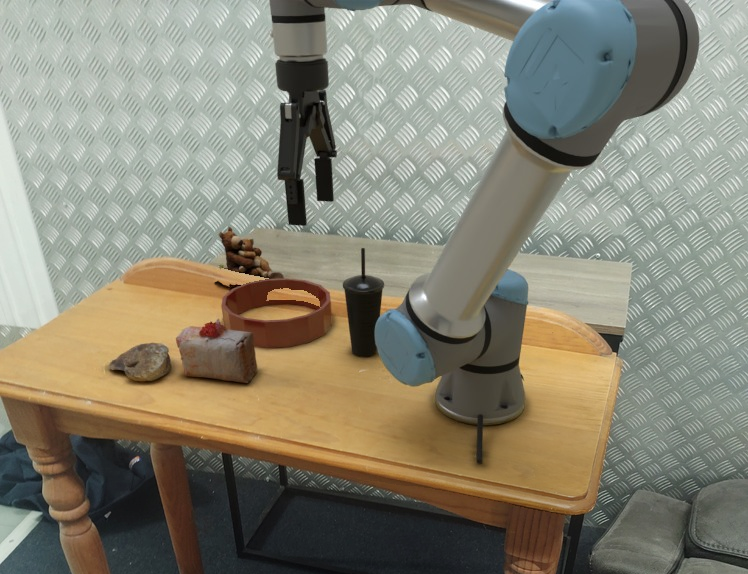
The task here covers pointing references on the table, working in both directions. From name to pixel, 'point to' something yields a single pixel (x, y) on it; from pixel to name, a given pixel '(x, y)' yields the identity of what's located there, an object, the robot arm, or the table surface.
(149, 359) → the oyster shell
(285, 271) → the table surface
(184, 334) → the food item
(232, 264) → the bear figurine
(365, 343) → the drinking cup
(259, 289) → the reddish-brown round ring
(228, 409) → the table surface
